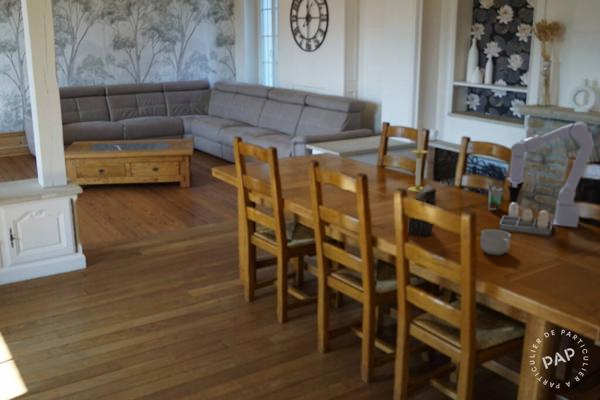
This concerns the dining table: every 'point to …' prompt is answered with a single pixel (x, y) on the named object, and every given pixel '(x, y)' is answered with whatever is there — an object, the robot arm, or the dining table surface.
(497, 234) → the teacup
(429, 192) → the owl
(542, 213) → the seated eggs
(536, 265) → the dining table surface
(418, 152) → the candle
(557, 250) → the dining table surface
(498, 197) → the food container
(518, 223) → the carton
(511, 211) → the white egg-shaped capsule
